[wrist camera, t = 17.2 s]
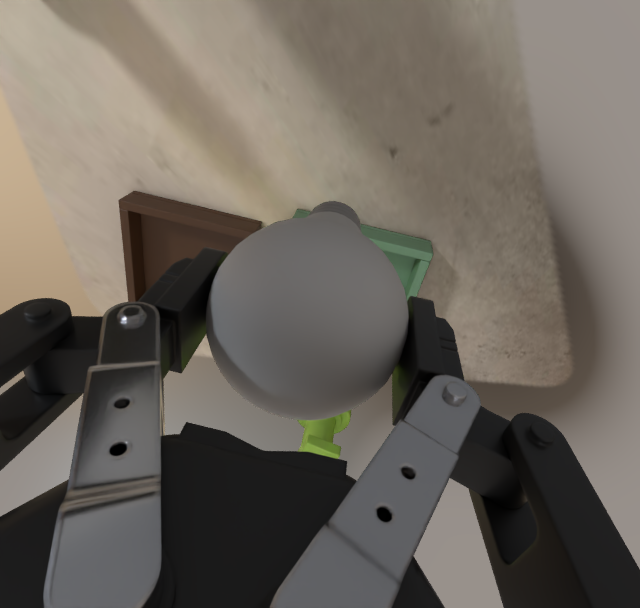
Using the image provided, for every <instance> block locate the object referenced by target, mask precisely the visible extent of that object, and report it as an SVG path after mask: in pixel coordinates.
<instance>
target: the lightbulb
mask: <svg viewBox="0 0 640 608" xmlns="http://www.w3.org/2000/svg"><path fill="white" fill-rule="evenodd" d="M408 319H409V315H408V305H407V300H406V294H405V289H404V287H403V285H402V283H401V280H400V278H399V276H398V274H397V272H396V270H395V268H394V266H393V265H392V263H391V262H390V260H389V259H388V258H387V256H386V255H385V254H384V252H383V251H382V250H381V249H380V248H379V247H378V246H377V245H376V244H375V243H373V242H372V241H371V240H370V239H369V238H368V237H366V236H364V235H363V234H362V232H361V225H360V220H359V218H358V216H357V214H356V213H355V211H354V210H353V209H352V208H350V207H349V206H347V205H346V204H344V203H341V202H336V201H329V202H324V203H322V204H320V205H318V206H317V207H315V208H314V209H313V210H312V211H311V213H310V214H309V215H308V216H307V217H306V218H293V219H288V220H284V221H279V222H275V223H273V224H271V225H269V226H267V227H264V228H262V229H260V230H258V231H256V232H255V233H253V234H251V235H250V236H248V237H247V238H246V239H244V240H243V241H242V242H240V243H239V244H238V245H236V247H235V248H234V249H233V250H232V252H231V253H230V254H229V255H228V256H227V258H226V259H225V260H224V262H223V263H222V264H221V266H220V267H219V269H218V271H217V273H216V275H215V278H214V280H213V282H212V285H211V288H210V292H209V296H208V301H207V307H206V334H207V338H208V342H209V345H210V349H211V352H212V355H213V358H214V360H215V362H216V364H217V366H218V368H219V370H220V372H221V373H222V374H223V376H224V377H225V379H226V380H227V381H228V383H229V384H230V385H231V386H232V387H233V389H234V390H235V391H236V392H237V393H238V394H239V395H241V396H242V397H243V398H244V399H245V400H247V401H248V402H249V403H251V404H253V405H254V406H255V407H257V408H260V409H262V410H264V411H266V412H268V413H271V414H274V415H277V416H280V417H284V418H289V419H294V420H308V421H309V420H322V419H326V418H331V417H335V416H337V415H340V414H342V413H344V412H347V411H349V410H352V409H354V408H356V407H358V406H359V405H361V404H362V403H363V402H365V401H366V400H368V399H369V398H370V397H372V396H373V395H374V394H375V393H377V391H378V390H379V389H380V388H381V387H382V386H383V385H384V384H385V383H386V382H387V381H388V379H389V377H390V376H391V374H392V373H393V371H394V369H395V367H396V366H397V364H398V362H399V360H400V358H401V355H402V352H403V348H404V345H405V342H406V338H407V334H408Z"/></svg>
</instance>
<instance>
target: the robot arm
mask: <svg viewBox="0 0 640 608" xmlns="http://www.w3.org/2000/svg"><path fill="white" fill-rule="evenodd" d="M227 256H228V253H227V252H225V251H221V250H217V249H212V248H208V247H204V248H203V249H202V250H201V251H200V253H199V254H198V255H197V256H196V257H195V258H194V259H191V258H187V257H186V258H184V259H182V260H180V261H177V262H175V263H173V264H172V265H171V266H170V267H169V268H168V269H167V270H166V271H165V273H164V274H163V275H162V276H161V277H160V278H159V280H157V281H156V282H155V283H154V284H153V285H152V286H151V287H150V288H149V289H148V290H147V291H146V292H145V293H144V295H143V296H142V297H141V298H140V299H139V300H138V301H137V302H125V303H121V304H118V305H115V306H113V307H111V308H110V309H108V310H107V311H106V312H105V314H104V316H103V317H85V316H72V314H71V310H70V307H69V305H68V304H67V303H65V302H63V301H61V300H57V299H52V298H41V299H34V300H29V301H26V302H23V303H20V304H18V305H16V306H15V307H13V308H12V309H10V310H8V311H6V312H5V313H3V314H1V315H0V387H1V386H3V385H4V384H5V383H7V382H8V381H9V380H11V379H12V378H13V377H14V376H16V375H17V374H19V373H20V372H21V371H24V374H25V377H23V378H22V379H21V380H20V381H18V382H17V383H16V384H14V385H13V386H12V387H10V388H9V389H8V390H7V391H5V392H4V393H2V394H1V395H0V471H1V470H2V469H3V468H4V467H5V466H6V465H7V464H8V463H9V462H10V461H11V460H12V459H13V458H15V457H16V456H17V455H18V454H19V453H20V452H21V451H22V450H23V449H24V448H25V447H26V446H27V445H28V444H30V442H32V441H33V440H34V439H35V438H36V437H37V436H38V435H39V434H40V433H41V432H42V431H43V430H45V429H46V428H47V427H48V426H49V425H50V424H51V423H52V422H53V421H54V420H55V419H56V418H57V417H58V416H59V415H60V414H62V413H63V412H64V411H65V410H66V409H67V408H68V407H69V406H70V405H71V404H72V403H73V402H74V401H76V400H77V399H78V398H79V397H80V396H81V395H82V394H83V393H84V395H83V401H82V407H81V413H80V418H79V424H78V430H77V436H76V442H75V447H74V453H73V459H72V465H71V470H70V476H69V480H67V481H65V482H63V483H61V484H59V485H58V486H56V487H54V488H52V489H50V490H49V491H47V492H45V493H43V494H41V495H39V496H37V497H36V498H34V499H32V500H30V501H28V502H26V503H25V504H23V505H21V506H19V507H17V508H15V509H13V510H12V511H10V512H8V513H6V514H4V515H2V516H1V517H0V608H445V607H444V606H443V604H442V603H441V601H440V599H439V597H438V596H437V594H436V592H435V591H434V589H433V588H432V586H431V584H430V583H429V581H428V579H427V578H426V576H425V575H424V573H423V571H422V570H421V568H420V566H419V565H418V563H417V561H416V560H415V558H414V556H413V555H414V553H415V551H416V549H417V547H418V545H419V543H420V540H421V538H422V536H423V534H424V532H425V530H426V527H427V525H428V523H429V521H430V519H431V517H432V515H433V512H434V510H435V508H436V506H437V504H438V502H439V500H440V497H441V495H442V493H443V491H444V489H445V487H446V485H447V482H448V480H449V478H451V479H453V480H455V481H457V482H459V483H460V484H462V485H464V486H466V487H467V488H469V492H470V496H471V499H472V502H473V506H474V509H475V513H476V516H477V519H478V522H479V526H480V529H481V533H482V536H483V539H484V543H485V546H486V549H487V553H488V556H489V560H490V563H491V566H492V570H493V573H494V576H495V580H496V583H497V586H498V590H499V593H500V596H501V600H502V603H503V607H504V608H640V569H639V567H638V566H637V564H636V562H635V560H634V559H633V557H632V555H631V553H630V552H629V550H628V548H627V546H626V545H625V543H624V541H623V539H622V537H621V536H620V534H619V532H618V530H617V529H616V527H615V525H614V524H613V522H612V520H611V518H610V516H609V515H608V513H607V511H606V509H605V508H604V506H603V504H602V502H601V500H600V499H599V497H598V495H597V493H596V492H595V490H594V488H593V486H592V485H591V483H590V481H589V479H588V478H587V476H586V474H585V472H584V471H583V469H582V467H581V465H580V463H579V462H578V460H577V458H576V456H575V455H574V453H573V451H572V449H571V448H570V446H569V444H568V442H567V441H566V439H565V437H564V436H563V435H562V433H561V432H560V431H559V430H558V429H557V428H556V427H555V426H554V425H552V424H551V423H550V422H548V421H547V420H545V419H543V418H541V417H539V416H536V415H533V414H529V413H520V414H517V415H516V416H514V418H513V419H512V420H511V421H509V420H506V419H505V418H502V417H500V416H498V415H496V414H494V413H492V412H490V411H488V410H487V409H485V408H484V407H482V406H481V405H480V404H481V402H480V398H479V396H478V394H477V393H476V391H475V390H474V389H473V388H472V387H471V386H470V385H469V384H468V383H466V382H465V381H464V377H463V373H462V368H461V363H460V359H459V354H458V352H457V350H458V349H457V345H456V343H455V342H456V340H455V335H454V331H453V329H452V328H451V326H450V325H449V324H448V322H447V321H446V320H445V319H443V318H439V317H436V315H435V309H434V303H433V301H431V300H427V299H423V298H418V297H414V296H410V297H409V299H408V301H407V305H408V315H409V319H408V334H407V338H406V342H405V345H404V348H403V352H402V355H401V358H400V360H399V362H398V364H397V366H396V367H395V369H394V371H393V373H392V396H393V397H392V399H393V400H392V401H393V402H392V406H393V407H392V408H393V425H395V427H394V429H393V430H392V432H391V433H390V434H389V436H388V437H387V439H386V440H385V442H384V443H383V444H382V446H381V447H380V449H379V450H378V452H377V453H376V454H375V456H374V457H373V459H372V460H371V461H370V463H369V464H368V466H367V467H366V469H365V470H364V471H363V473H362V475H361V476H360V477H359V479H358V480H357V481H356V480H355V479H353V478H352V477H350V476H348V475H346V467H347V461H344V460H340V459H336V458H332V457H328V456H324V455H319V454H315V453H311V452H296V451H295V452H294V451H292V452H291V451H287V452H286V451H263V450H260V449H258V448H256V447H254V446H252V445H250V444H249V443H246V442H244V441H243V440H241V439H238V438H237V437H235V436H233V435H231V434H229V433H227V432H225V431H221V430H216V429H213V428H208V427H204V426H200V425H196V424H192V423H188V422H186V424H185V426H184V427H183V429H182V431H181V433H180V434H174V435H165V419H164V381H163V379H164V377H165V376H166V374H167V373H168V371H169V370H170V371H174V372H178V373H182V372H183V370H184V368H185V367H186V365H187V364H188V362H189V360H190V359H191V357H192V356H193V354H194V352H195V351H196V349H197V347H198V346H199V344H200V343H201V341H202V339H203V338H204V336H205V335H206V307H207V301H208V296H209V292H210V288H211V285H212V282H213V280H214V278H215V275H216V273H217V271H218V269H219V267H220V266H221V264H222V263H223V262H224V260H225V259H226V258H227Z"/></svg>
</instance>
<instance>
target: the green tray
mask: <svg viewBox="0 0 640 608" xmlns="http://www.w3.org/2000/svg"><path fill="white" fill-rule="evenodd" d="M310 213H311V212H308V211H304V210H300V209H297V211H296V213H295V215H294V217H293V218H306V217H307V216H308V215H309V214H310ZM293 218H292V219H293ZM360 225H361V232H362V234H363V235H364V236H366V237H368V238H369V239H370V240H371V241H372V242H373V243H375V244H376V245H377V246H378V247H379V248H380V249H381V250H382V251H383V252H384V254H385V255H386V256H387V258H388V259H389V260H390V262H391V263H392V265H393V266H394V268H395V270H396V272H397V274H398V276H399V278H400V280H401V283H402V285H403V287H404V289H405V294H406V300H407V301H408V299H409V297H410V296H414V297H417V294H418V292H419V289H420V286H421V284H422V281H423V279H424V276H425V274H426V271H427V269H428V266H429V264H430V261H431V259H432V256H433V250H432V245H431V241H428V240H424V239H420V238H416V237H412V236H408V235H404V234H400V233H395V232H391V231H387V230H383V229H379V228H375V227H371V226H366V225H362V224H360Z"/></svg>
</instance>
